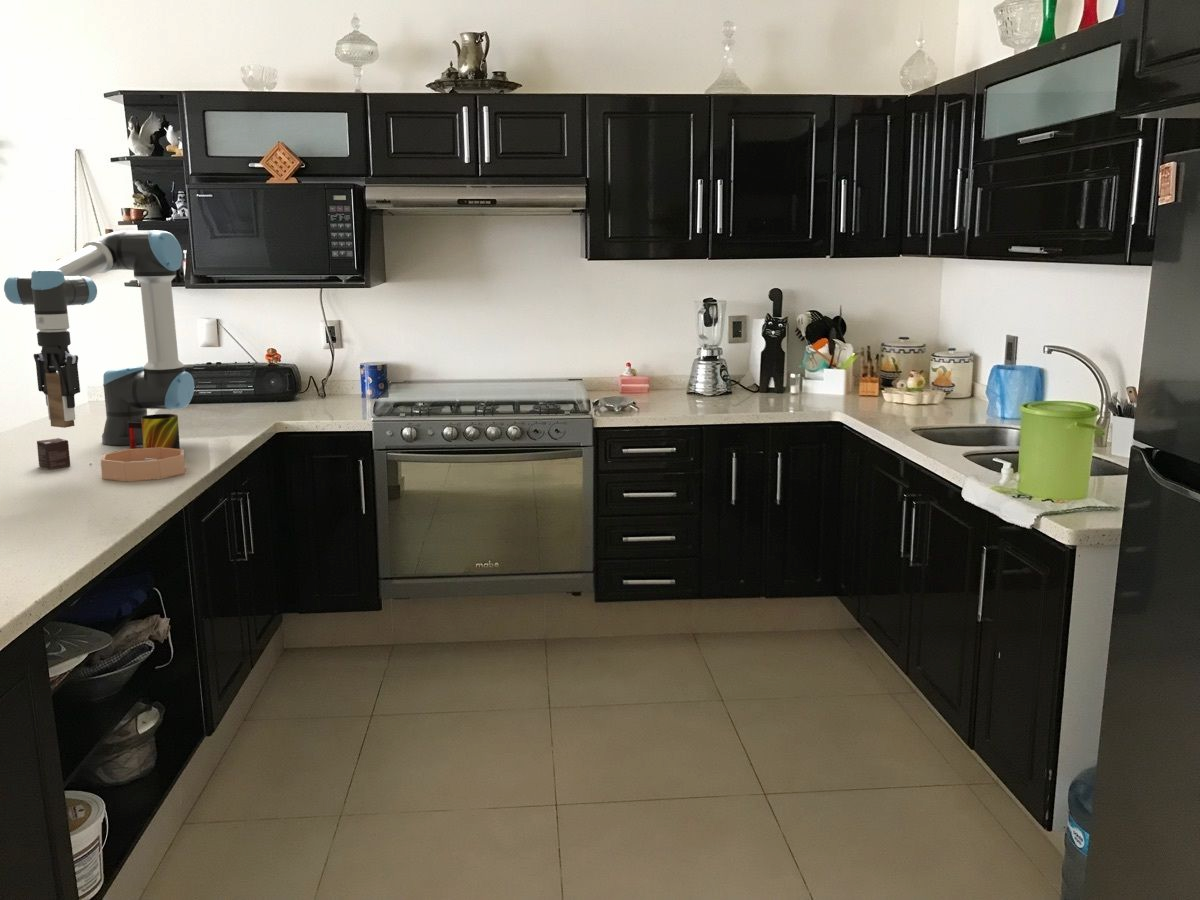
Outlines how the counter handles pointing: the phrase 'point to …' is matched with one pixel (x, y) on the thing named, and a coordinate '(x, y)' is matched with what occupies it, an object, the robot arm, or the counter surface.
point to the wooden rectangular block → (56, 401)
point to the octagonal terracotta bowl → (143, 464)
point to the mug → (157, 431)
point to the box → (53, 453)
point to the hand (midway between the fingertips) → (62, 419)
